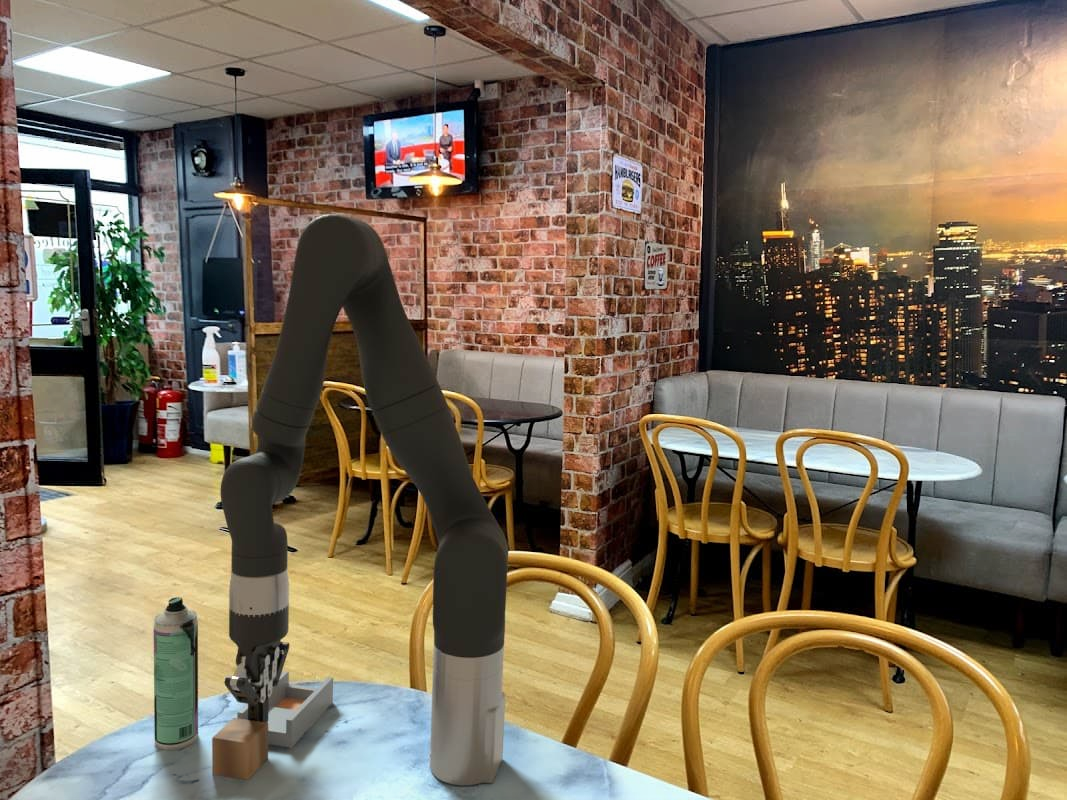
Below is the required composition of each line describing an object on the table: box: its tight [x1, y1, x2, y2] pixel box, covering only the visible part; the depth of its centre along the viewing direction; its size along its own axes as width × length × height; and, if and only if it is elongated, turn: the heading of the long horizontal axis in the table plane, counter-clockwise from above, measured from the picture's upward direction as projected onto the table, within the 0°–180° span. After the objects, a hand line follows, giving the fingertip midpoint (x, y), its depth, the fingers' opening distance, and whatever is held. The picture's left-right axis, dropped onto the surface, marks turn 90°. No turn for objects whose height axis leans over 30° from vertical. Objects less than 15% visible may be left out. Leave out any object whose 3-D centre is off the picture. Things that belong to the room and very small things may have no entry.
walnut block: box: [211, 717, 269, 781], centre depth 102 cm, size 5×5×5 cm
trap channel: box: [236, 670, 334, 749], centre depth 114 cm, size 8×13×4 cm, turn 169°
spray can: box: [153, 596, 199, 751], centre depth 107 cm, size 6×6×20 cm
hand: (258, 724), depth 106 cm, fingers closed
